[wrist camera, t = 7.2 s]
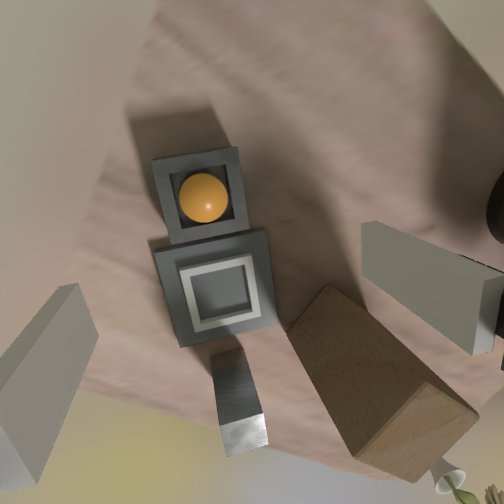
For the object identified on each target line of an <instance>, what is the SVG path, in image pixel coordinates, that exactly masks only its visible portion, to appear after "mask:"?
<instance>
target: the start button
mask: <svg viewBox="0 0 504 504" xmlns="http://www.w3.org/2000/svg"><path fill="white" fill-rule="evenodd" d="M179 198H180V205H181V208H182V210H183V211H184V213H185V214H186V215H187V216H188V217H189V218H191V219H192V220H194V221H197V222H211V221H213V220H216V219H217V218H219V217H220V216H221V215H222V214H223V212H224V211H225V209H226V207H227V203H228V195H227V191H226V189H225V187H224V185H223V184H222V183H221V182H220V181H219V180H218V178H216V177H215V176H214V175H212V174H210V173H207V172H196V173H193V174H191V175H189V176H188V177H187V178H186V179H185V180H184V181H183V183H182V185H181V187H180V195H179Z"/></svg>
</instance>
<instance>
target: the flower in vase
mask: <svg viewBox="0 0 504 504" xmlns="http://www.w3.org/2000/svg"><path fill="white" fill-rule="evenodd" d="M430 471H431V473H432V476H433V479H434V483H435V490H436V492H437V493H438V494H448V493H450V492H453V494H454V496H455V498H456V501H457V502H458V503H459V504H480V503H479V501H478V499H477V498H476V496H475V495H474V494H472V493H470V492H466V491H462V490H459V489H457V488H458V487H460V485H462V483H463V482H464V480H465V477H466V473H465V471H464V470H462V469H460V468H457V467H455V466H453V465H451V464H450V463H448V462H447V461H446V460H445V459H443V458H442V457H441V458H440V459H439V460H438V461H437V462H436V463H435V464H434V465H433V466H432V467H431V468H430ZM485 491H486V495H485V500H486V503H487V504H504V492H503V491H500V493H498V492H497V489H496V487H495V486H494V485H492V488H491V487H490V486H489V487H488V490H487V489H486V490H485Z"/></svg>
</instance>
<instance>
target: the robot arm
mask: <svg viewBox="0 0 504 504" xmlns="http://www.w3.org/2000/svg"><path fill="white" fill-rule="evenodd" d="M488 225H489V229H490V231H491V233H492V235H493V236H494V238H495V239H496V240H497V241H499V242H500V243H502V244H504V173H503V175H502V176H501V177H500V179H499V181H498V182H497V184H496V186H495V188H494V190H493V192H492V195H491V198H490V201H489V206H488ZM361 236H362V275H364V276H365V277H366V278H368V279H369V280H370V281H372V282H373V283H374V284H376V285H377V286H378V287H380V288H381V289H382V290H384V291H385V292H386V293H388V294H389V295H391V296H392V297H393V298H395V299H396V300H397V301H399V302H400V303H401V304H403V305H404V306H405V307H407V308H408V309H409V310H411V311H412V312H413V313H415V314H416V315H418V316H419V317H420V318H422V319H423V320H424V321H426V322H427V323H428V324H430V325H431V326H432V327H434V328H435V329H436V330H438V331H439V332H440V333H442V334H443V335H444V336H446V337H447V338H449V339H450V340H451V341H453V342H454V343H455V344H457V345H458V346H459V347H461V348H462V349H463V350H465V351H466V352H467V353H469V354H470V355H471V356H475V355H478V354H482V353H485V352H489V351H492V350H493V346H494V340H495V335H496V334H497V335H498V336H500V337H501V338H503V339H504V272H502V271H499V270H497V269H495V268H492V267H490V266H485V264H482V263H480V262H478V261H476V262H475V260H473V259H470V258H468V257H465V256H463V255H459V254H455V253H452V252H450V251H448V250H445V249H443V248H440V247H438V246H436V245H433V244H431V243H428V242H426V241H424V240H421V239H419V238H416V237H414V236H411V235H409V234H407V233H404V232H402V231H399V230H397V229H395V228H392V227H390V226H387V225H385V224H383V223H380V222H378V221H372V222H367V223H362V224H361ZM98 337H99V335H98V333H97V330H96V327H95V325H94V322H93V320H92V317H91V315H90V312H89V309H88V307H87V304H86V302H85V299H84V297H83V294H82V291H81V289H80V286H79V284H78V283H75V284H70V285H65V286H60V287H58V289H57V290H56V291H55V292H54V293H53V295H52V296H51V297H50V298H49V300H48V301H47V302H46V303H45V304H44V306H43V307H42V308H41V309H40V310H39V312H38V313H37V314H36V316H34V318H33V319H32V320H31V321H30V323H29V324H28V325H27V326H26V327H25V329H24V330H23V331H22V332H21V333H20V335H19V336H18V337H17V338H16V340H15V341H14V342H13V343H12V344H11V346H10V347H9V348H8V349H7V350H6V352H5V353H4V354H3V355H2V356H1V358H0V488H1V489H2V491H3V492H4V494H9V493H12V492H15V491H19V490H22V489H26V488H29V487H32V486H35V485H37V484H38V482H39V479H40V477H41V474H42V472H43V470H44V467H45V465H46V462H47V460H48V458H49V455H50V453H51V450H52V448H53V446H54V443H55V441H56V438H57V436H58V433H59V431H60V429H61V426H62V424H63V421H64V419H65V417H66V414H67V412H68V409H69V407H70V404H71V402H72V400H73V397H74V395H75V393H76V390H77V388H78V385H79V383H80V381H81V378H82V376H83V373H84V371H85V368H86V366H87V364H88V361H89V359H90V356H91V354H92V352H93V349H94V347H95V344H96V342H97V340H98ZM501 370H503V371H504V355H503V360H502V365H501Z"/></svg>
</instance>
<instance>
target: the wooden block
mask: <svg viewBox="0 0 504 504" xmlns="http://www.w3.org/2000/svg"><path fill="white" fill-rule="evenodd" d="M287 337H288V339H289V341H290V342H291V344H292V346H293V348H294V350H295V352H296V354H297V355H298V357H299V359H300V361H301V363H302V365H303V366H304V368H305V370H306V372H307V374H308V376H309V378H310V379H311V381H312V383H313V385H314V387H315V389H316V390H317V392H318V394H319V396H320V398H321V400H322V402H323V403H324V405H325V407H326V409H327V411H328V413H329V414H330V416H331V418H332V420H333V422H334V424H335V426H336V427H337V429H338V431H339V433H340V435H341V437H342V438H343V440H344V442H345V444H346V446H347V448H348V449H349V451H350V453H351V455H352V456H353V457H354V458H355V459H357V460H359V461H361V462H364V463H366V464H368V465H371V466H373V467H376V468H378V469H380V470H383V471H385V472H387V473H390V474H392V475H394V476H397V477H399V478H401V479H404V480H406V481H408V482H411V483H415V482H417V481H418V480H419V479H420V478H421V477H422V476H423V475H424V474H425V473H426V472H427V471H428V470H429V469H430V468H431V467H432V466H433V465H434V464H435V463H436V462H437V461H438V460H439V459H440V458H441V457H442V456H443V455H444V454H445V453H446V452H447V451H448V450H449V449H450V448H451V447H452V446H453V445H454V444H455V443H456V442H457V441H458V440H459V439H460V438H461V437H462V436H463V435H464V434H465V433H466V432H467V431H468V430H469V429H470V428H471V427H472V426H473V425H474V424H475V423H476V422H477V421H478V420H479V418H480V417H479V414H478V413H477V411H475V410H474V409H473V408H472V407H471V406H470V405H469V404H468V403H467V402H466V401H465V400H463V399H462V398H461V397H460V396H459V395H458V394H457V393H456V392H455V391H454V390H453V389H451V388H450V387H449V386H448V385H447V384H446V383H445V382H444V381H443V380H442V379H441V378H440V377H438V376H437V375H436V374H435V373H434V372H433V371H432V370H431V369H430V368H429V367H428V366H426V365H425V364H424V363H423V362H422V361H421V360H420V359H419V358H418V357H417V356H416V355H414V354H413V353H412V352H411V351H410V350H409V349H408V348H407V347H406V346H405V345H404V344H402V343H401V342H400V341H399V340H398V339H397V338H396V337H395V336H394V335H393V334H392V333H391V332H389V331H388V330H387V329H386V328H385V327H384V326H383V325H382V324H381V323H380V322H379V321H377V320H376V319H375V318H374V317H373V316H372V315H371V314H370V313H368V312H367V311H366V310H364V309H363V308H361V307H360V306H359V305H357V304H356V303H354V302H353V301H352V300H350V299H349V298H347V297H346V296H345V295H343V294H342V293H340V292H339V291H338V290H336V289H335V288H333V287H332V286H331V285H326V286H325V287H324V288H323V290H322V291H321V292H320V293H319V294H318V296H317V297H316V298H315V299H314V300H313V302H312V303H311V304H310V305H309V306H308V308H307V309H306V310H305V311H304V313H303V314H302V315H301V316H300V317H299V319H298V320H297V321H296V322H295V323H294V325H293V326H292V327H291V328H290V329H289V331H288V332H287Z"/></svg>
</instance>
